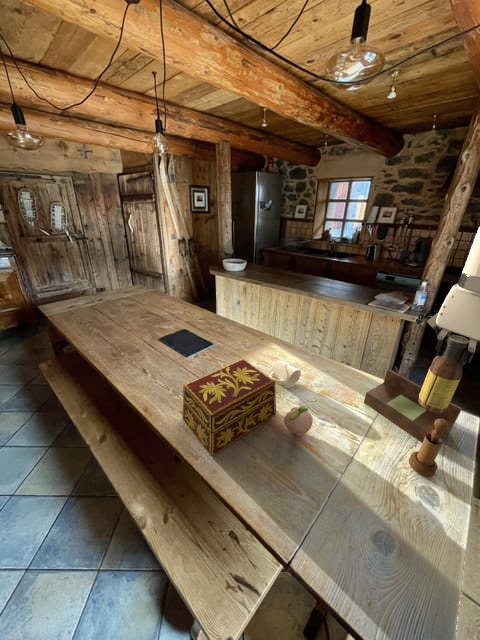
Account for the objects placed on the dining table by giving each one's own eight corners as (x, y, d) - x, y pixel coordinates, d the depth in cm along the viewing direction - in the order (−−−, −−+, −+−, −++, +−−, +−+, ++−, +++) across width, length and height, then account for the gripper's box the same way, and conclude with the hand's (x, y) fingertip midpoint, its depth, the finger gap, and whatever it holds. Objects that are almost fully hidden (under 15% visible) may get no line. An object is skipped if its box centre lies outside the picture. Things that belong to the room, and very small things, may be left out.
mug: (282, 371, 117) (283, 356, 114) (299, 381, 111) (302, 366, 108) (264, 383, 110) (265, 367, 106) (281, 394, 104) (283, 378, 100)
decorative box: (211, 457, 79) (209, 420, 72) (181, 419, 92) (178, 384, 85) (276, 414, 94) (280, 380, 88) (243, 387, 107) (244, 355, 101)
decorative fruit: (301, 447, 82) (305, 424, 78) (279, 433, 87) (281, 410, 83) (315, 429, 89) (319, 406, 84) (293, 417, 94) (297, 395, 89)
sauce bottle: (450, 410, 67) (486, 344, 58) (434, 417, 65) (469, 350, 56) (426, 393, 73) (455, 330, 63) (410, 399, 70) (438, 335, 61)
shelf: (449, 433, 88) (462, 408, 83) (431, 449, 82) (444, 423, 78) (382, 391, 106) (389, 368, 102) (363, 402, 101) (370, 379, 96)
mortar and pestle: (403, 460, 79) (422, 415, 71) (419, 453, 81) (439, 409, 73) (424, 480, 73) (447, 434, 66) (440, 472, 76) (464, 427, 68)
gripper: (544, 292, 50) (502, 371, 58) (444, 271, 63) (420, 339, 70) (533, 300, 46) (489, 383, 54) (428, 276, 59) (406, 347, 67)
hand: (451, 357), depth 62 cm, fingers closed on sauce bottle, 4 cm apart
